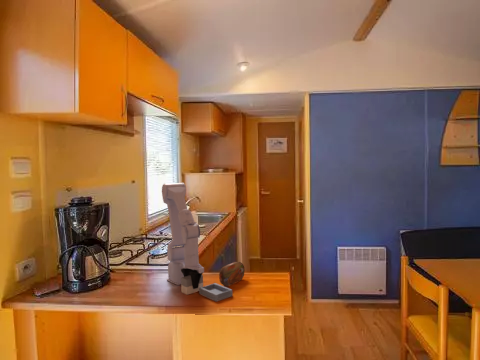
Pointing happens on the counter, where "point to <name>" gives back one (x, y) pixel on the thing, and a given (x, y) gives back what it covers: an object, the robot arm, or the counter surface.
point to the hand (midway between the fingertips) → (192, 286)
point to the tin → (231, 273)
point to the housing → (189, 285)
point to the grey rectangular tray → (215, 292)
